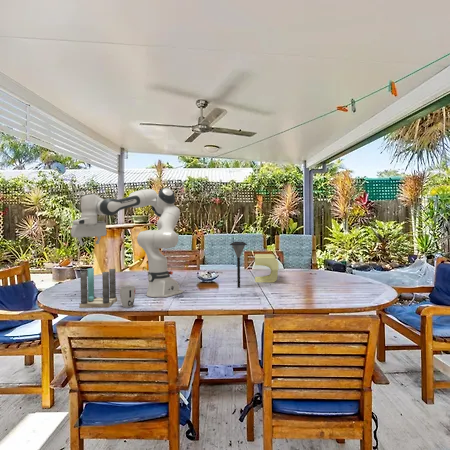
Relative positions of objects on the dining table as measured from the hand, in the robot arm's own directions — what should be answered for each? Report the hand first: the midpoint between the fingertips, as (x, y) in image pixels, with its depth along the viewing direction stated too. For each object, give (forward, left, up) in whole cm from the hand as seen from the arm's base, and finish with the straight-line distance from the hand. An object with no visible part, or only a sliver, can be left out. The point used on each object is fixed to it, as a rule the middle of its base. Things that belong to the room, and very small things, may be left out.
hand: (89, 244), depth 205 cm
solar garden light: (-78, +48, -31) cm, 97 cm away
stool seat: (+5, +21, -31) cm, 38 cm away
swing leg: (+7, +16, -29) cm, 34 cm away
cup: (-3, +37, -31) cm, 49 cm away
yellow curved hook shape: (-110, +46, -31) cm, 123 cm away
